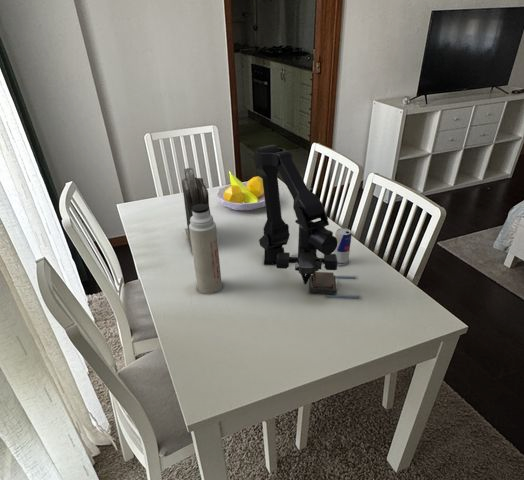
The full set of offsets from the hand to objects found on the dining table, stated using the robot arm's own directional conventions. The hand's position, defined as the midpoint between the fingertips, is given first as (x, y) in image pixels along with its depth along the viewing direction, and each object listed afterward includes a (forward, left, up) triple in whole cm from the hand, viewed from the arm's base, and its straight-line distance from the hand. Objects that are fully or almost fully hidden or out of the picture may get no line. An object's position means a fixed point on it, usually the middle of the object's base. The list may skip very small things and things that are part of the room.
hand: (305, 283), depth 133 cm
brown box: (+6, 0, -1) cm, 6 cm away
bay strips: (+12, 0, -1) cm, 12 cm away
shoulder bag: (-41, +31, -1) cm, 52 cm away
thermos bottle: (-31, -2, -1) cm, 31 cm away
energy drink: (+13, +16, -1) cm, 21 cm away
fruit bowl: (-27, +67, -1) cm, 73 cm away
